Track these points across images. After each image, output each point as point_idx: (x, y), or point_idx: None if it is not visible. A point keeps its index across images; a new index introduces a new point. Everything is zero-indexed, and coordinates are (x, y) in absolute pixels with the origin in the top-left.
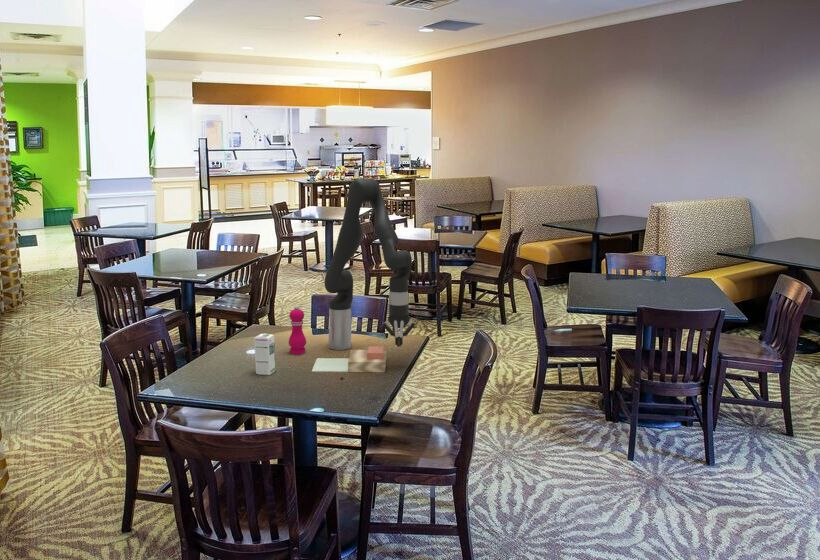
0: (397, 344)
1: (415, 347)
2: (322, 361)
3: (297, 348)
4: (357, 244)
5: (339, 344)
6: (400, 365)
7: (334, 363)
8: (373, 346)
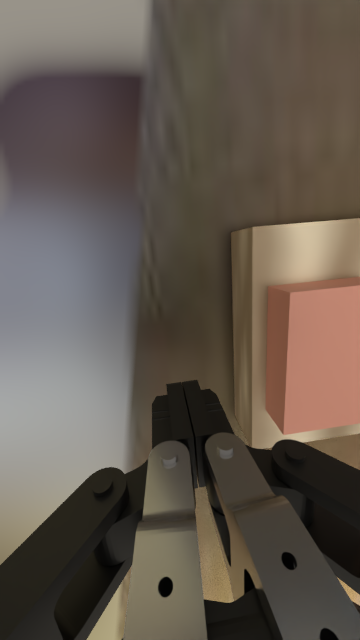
0: (196, 387)
1: (131, 565)
2: None
3: None
4: None
5: None
6: (164, 350)
7: None
8: (343, 424)
